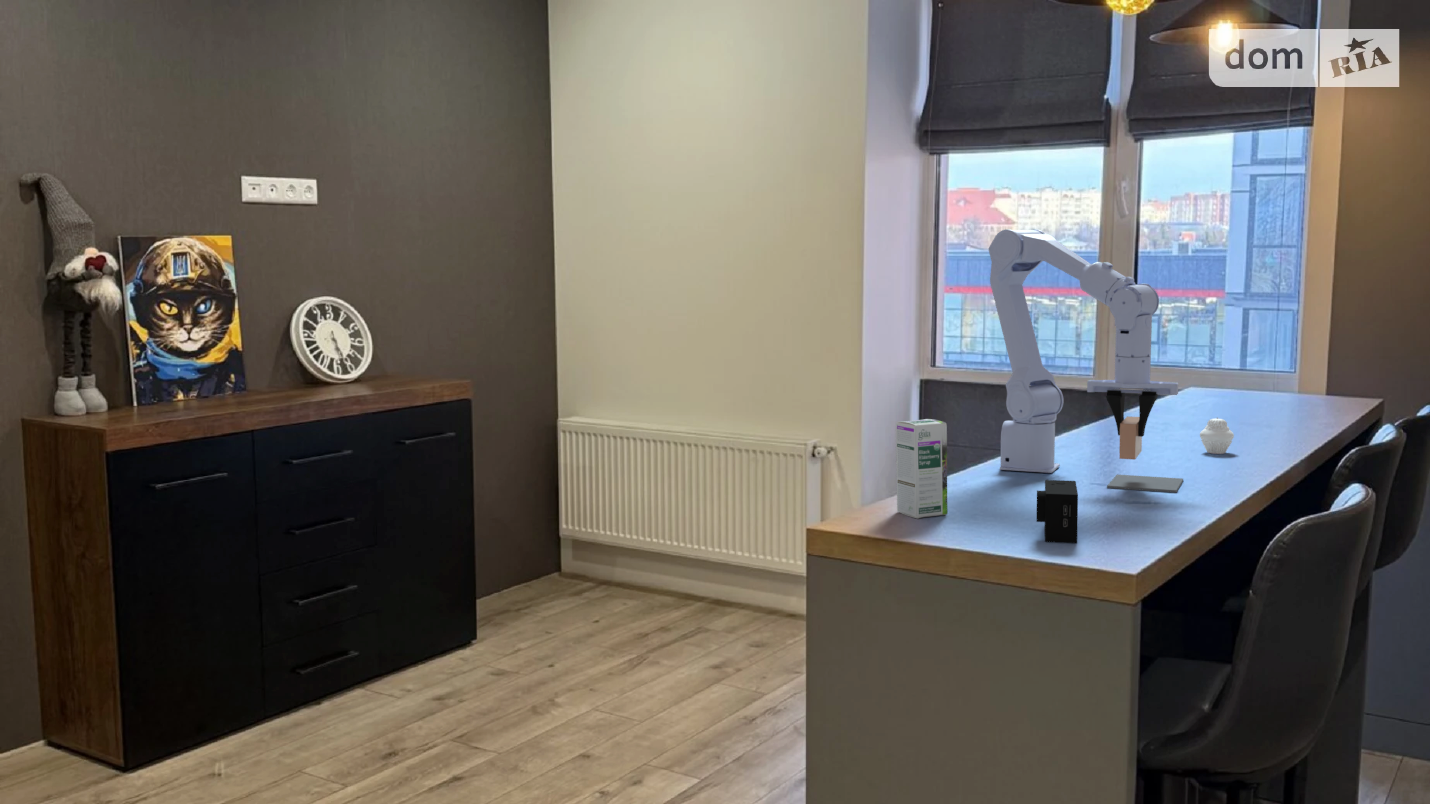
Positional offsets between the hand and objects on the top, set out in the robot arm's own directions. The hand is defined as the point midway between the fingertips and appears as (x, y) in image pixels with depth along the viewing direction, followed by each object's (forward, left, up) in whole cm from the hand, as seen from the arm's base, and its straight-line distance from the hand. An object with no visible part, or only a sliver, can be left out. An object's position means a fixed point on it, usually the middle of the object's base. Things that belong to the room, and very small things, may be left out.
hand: (1130, 435), depth 203 cm
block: (0, 0, -3) cm, 3 cm away
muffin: (+11, +38, -9) cm, 41 cm away
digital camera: (-4, -42, -9) cm, 43 cm away
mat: (+3, 0, -8) cm, 9 cm away
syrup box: (-26, -36, -9) cm, 45 cm away
